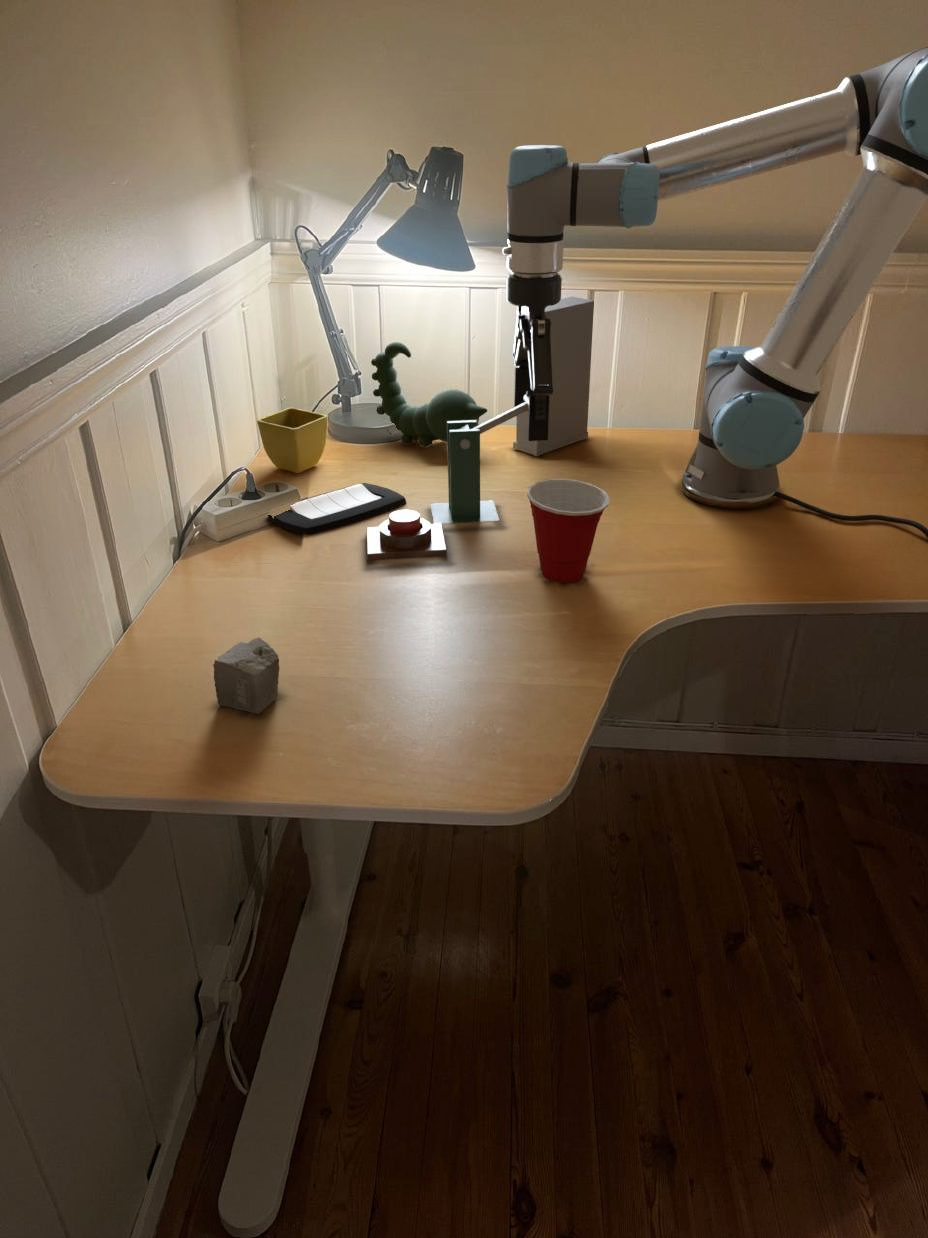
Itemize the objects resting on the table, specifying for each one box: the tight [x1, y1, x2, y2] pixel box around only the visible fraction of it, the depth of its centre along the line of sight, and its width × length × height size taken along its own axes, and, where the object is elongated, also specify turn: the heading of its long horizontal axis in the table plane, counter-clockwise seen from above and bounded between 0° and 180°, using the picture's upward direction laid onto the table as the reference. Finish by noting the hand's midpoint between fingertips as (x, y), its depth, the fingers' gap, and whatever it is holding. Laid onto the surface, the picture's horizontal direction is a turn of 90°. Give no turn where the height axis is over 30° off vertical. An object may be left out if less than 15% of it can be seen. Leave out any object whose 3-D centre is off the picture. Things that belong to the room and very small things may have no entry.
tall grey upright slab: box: [512, 296, 595, 457], centre depth 167 cm, size 14×6×25 cm, turn 133°
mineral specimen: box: [212, 637, 280, 715], centre depth 100 cm, size 7×9×8 cm
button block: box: [366, 517, 448, 562], centre depth 134 cm, size 11×9×4 cm
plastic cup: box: [526, 478, 610, 584], centre depth 125 cm, size 11×11×12 cm
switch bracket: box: [429, 420, 501, 525], centre depth 141 cm, size 10×8×15 cm
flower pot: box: [256, 407, 328, 474], centre depth 163 cm, size 9×9×9 cm
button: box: [388, 509, 421, 534], centre depth 133 cm, size 4×4×2 cm
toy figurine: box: [370, 341, 488, 448], centre depth 170 cm, size 9×19×25 cm
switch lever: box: [457, 394, 529, 435], centre depth 138 cm, size 13×6×2 cm, turn 96°
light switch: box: [267, 482, 407, 536], centre depth 147 cm, size 20×3×14 cm
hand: (530, 424), depth 138 cm, fingers open, 13 cm apart
